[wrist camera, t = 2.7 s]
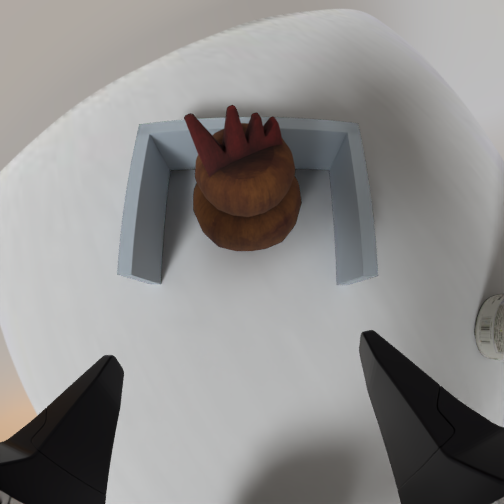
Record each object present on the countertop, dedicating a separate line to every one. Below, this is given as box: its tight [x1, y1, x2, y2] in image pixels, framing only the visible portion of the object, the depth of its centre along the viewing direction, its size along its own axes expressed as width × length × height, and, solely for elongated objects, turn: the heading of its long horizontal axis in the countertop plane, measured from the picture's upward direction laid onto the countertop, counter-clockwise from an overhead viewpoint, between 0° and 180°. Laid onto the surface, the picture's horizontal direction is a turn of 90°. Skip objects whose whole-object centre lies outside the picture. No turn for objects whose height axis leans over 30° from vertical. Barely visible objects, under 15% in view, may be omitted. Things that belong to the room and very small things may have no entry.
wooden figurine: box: [184, 105, 302, 251], centre depth 16 cm, size 7×6×15 cm
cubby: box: [117, 117, 378, 285], centre depth 21 cm, size 11×16×6 cm
